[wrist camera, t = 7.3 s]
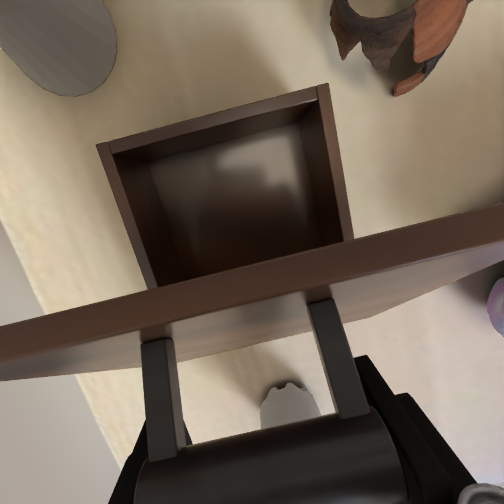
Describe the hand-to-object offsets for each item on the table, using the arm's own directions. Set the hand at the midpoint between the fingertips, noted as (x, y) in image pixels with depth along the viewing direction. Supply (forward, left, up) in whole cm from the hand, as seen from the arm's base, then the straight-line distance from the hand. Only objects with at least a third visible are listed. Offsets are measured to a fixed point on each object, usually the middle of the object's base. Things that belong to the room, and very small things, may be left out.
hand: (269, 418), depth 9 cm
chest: (-4, -1, -20) cm, 20 cm away
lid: (-1, 0, -5) cm, 5 cm away
